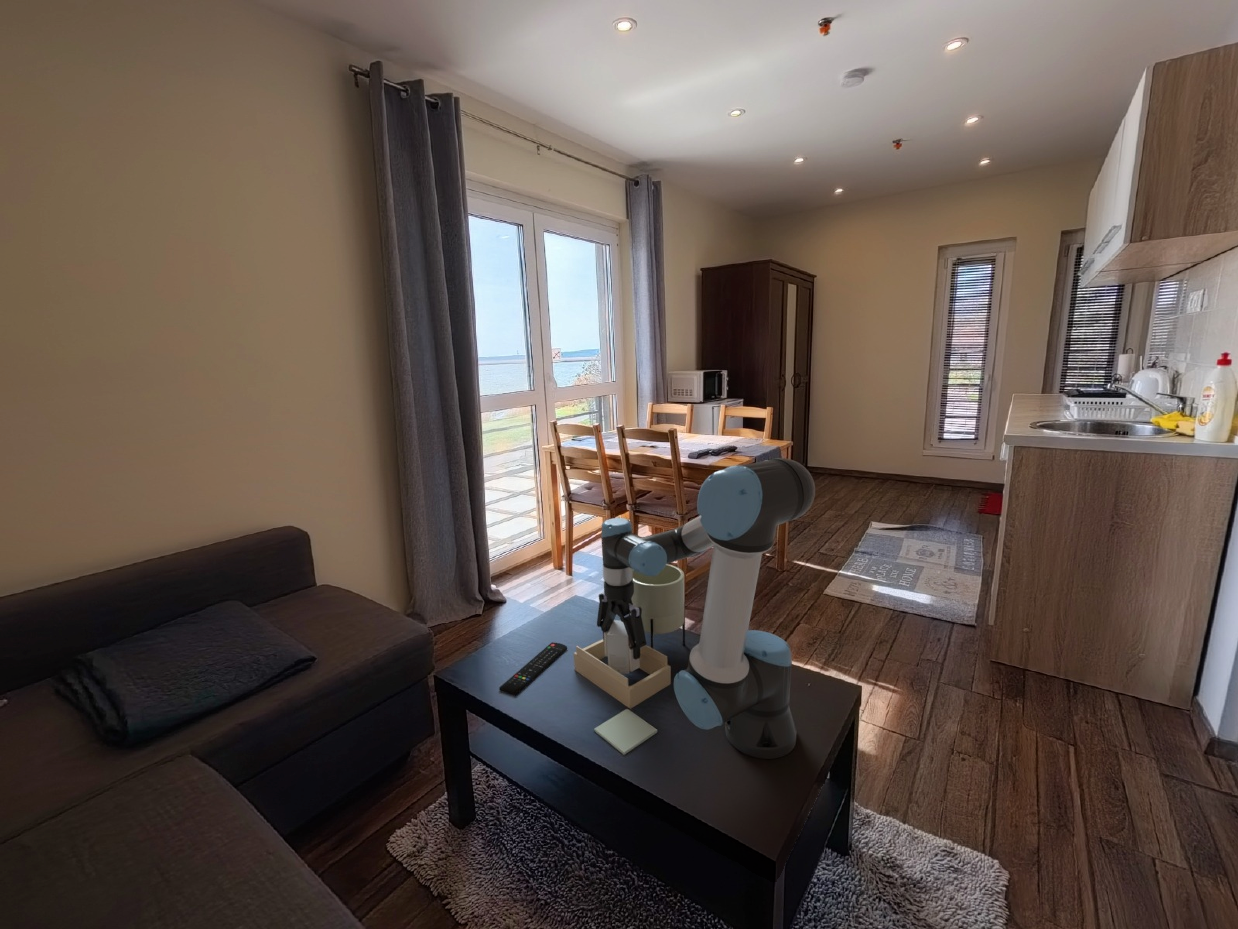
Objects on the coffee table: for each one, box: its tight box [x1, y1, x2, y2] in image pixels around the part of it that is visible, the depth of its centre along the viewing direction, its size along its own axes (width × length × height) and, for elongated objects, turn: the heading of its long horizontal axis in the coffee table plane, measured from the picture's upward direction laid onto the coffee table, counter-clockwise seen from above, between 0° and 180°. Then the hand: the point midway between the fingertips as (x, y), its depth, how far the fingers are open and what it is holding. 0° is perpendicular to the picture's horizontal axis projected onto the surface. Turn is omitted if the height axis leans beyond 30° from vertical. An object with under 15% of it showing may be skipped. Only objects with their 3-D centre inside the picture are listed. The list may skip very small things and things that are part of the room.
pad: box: [593, 708, 658, 756], centre depth 122 cm, size 10×10×1 cm
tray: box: [573, 638, 672, 710], centre depth 141 cm, size 22×14×7 cm, turn 41°
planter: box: [632, 563, 686, 649], centre depth 152 cm, size 15×16×23 cm
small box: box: [607, 619, 631, 675], centre depth 140 cm, size 8×6×10 cm
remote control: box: [498, 642, 568, 697], centre depth 147 cm, size 5×24×1 cm, turn 153°
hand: (621, 661), depth 141 cm, fingers closed on small box, 9 cm apart
